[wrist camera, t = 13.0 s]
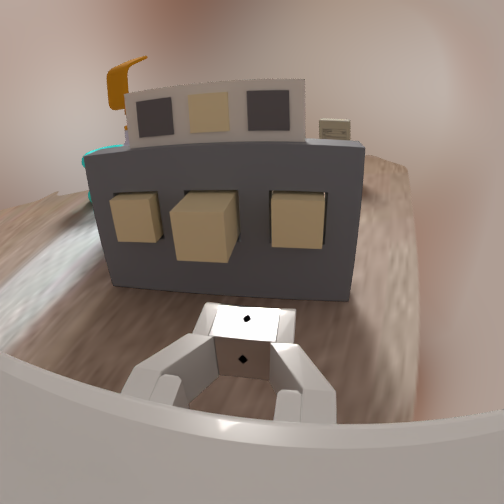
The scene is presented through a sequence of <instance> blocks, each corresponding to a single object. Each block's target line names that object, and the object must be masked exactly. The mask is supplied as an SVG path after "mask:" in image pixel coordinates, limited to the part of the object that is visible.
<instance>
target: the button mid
mask: <svg viewBox="0 0 504 504" xmlns="http://www.w3.org/2000/svg"><path fill="white" fill-rule="evenodd" d="M170 219H171V226H172V233H173V239H174V245H175V251H176V257H177V260H179V261H198V262H219V263H228V261H229V258H230V256H231V253H232V251H233V249H234V246H235V244H236V241H237V239H238V237H239V234H240V232H241V228H240V210H239V192H238V190H191V191H190V192H189V193H188V194H187V195H186V196H185V197H184V198H183V199H182V200H181V201H180V202H179V203H178V204H177V205H176V206H175V207H174V208H173V209H172V210H171V211H170Z"/></svg>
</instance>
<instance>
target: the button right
mask: <svg viewBox="0 0 504 504" xmlns="http://www.w3.org/2000/svg"><path fill="white" fill-rule="evenodd" d="M324 210H325V199H324V193H323V192H308V191H273V195H272V198H271V224H272V247H283V248H309V249H322V242H323V227H324Z"/></svg>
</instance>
